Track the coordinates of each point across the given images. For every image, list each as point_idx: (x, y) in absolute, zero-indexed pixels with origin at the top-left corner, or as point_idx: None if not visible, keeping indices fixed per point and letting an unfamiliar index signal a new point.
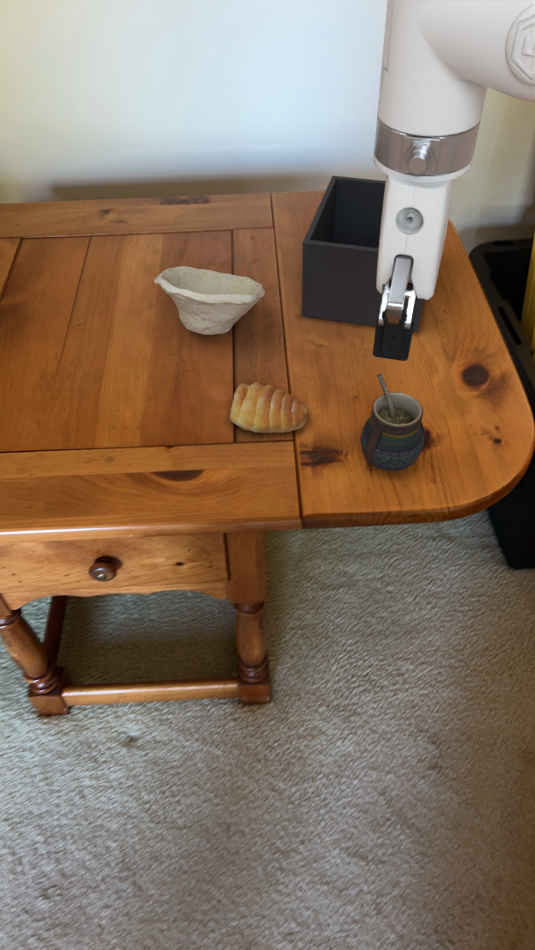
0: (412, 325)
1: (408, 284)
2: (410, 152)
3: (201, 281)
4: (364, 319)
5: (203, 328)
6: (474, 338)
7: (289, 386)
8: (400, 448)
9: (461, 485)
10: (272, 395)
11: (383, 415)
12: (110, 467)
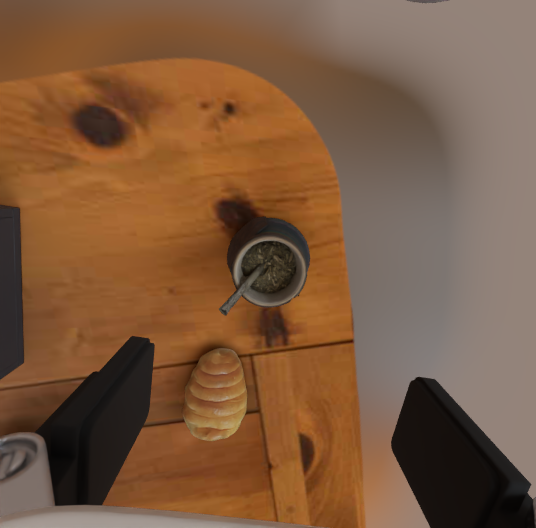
0: (527, 487)
1: (133, 400)
2: None
3: None
4: (13, 286)
5: None
6: (10, 117)
7: (163, 366)
8: (306, 255)
9: (308, 165)
10: (208, 400)
11: (261, 283)
12: (300, 507)
